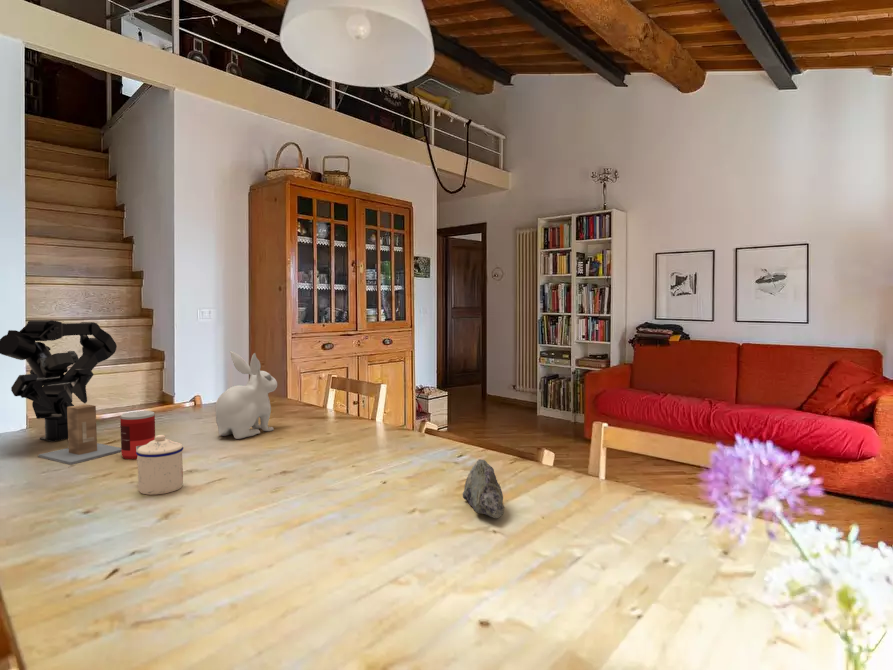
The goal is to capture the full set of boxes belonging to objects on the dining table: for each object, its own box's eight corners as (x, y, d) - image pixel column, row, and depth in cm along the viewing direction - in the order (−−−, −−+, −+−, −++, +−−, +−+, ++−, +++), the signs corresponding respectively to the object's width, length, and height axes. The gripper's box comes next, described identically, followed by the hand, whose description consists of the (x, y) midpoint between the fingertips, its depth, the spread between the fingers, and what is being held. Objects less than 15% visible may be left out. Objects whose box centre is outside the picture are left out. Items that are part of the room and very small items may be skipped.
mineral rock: (497, 528, 103) (498, 474, 103) (443, 518, 107) (444, 467, 107) (516, 504, 115) (517, 456, 115) (467, 496, 119) (467, 450, 119)
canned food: (161, 451, 151) (160, 411, 150) (142, 460, 143) (141, 417, 142) (134, 450, 152) (133, 410, 151) (114, 459, 144) (113, 416, 143)
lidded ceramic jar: (193, 485, 124) (192, 433, 124) (155, 498, 116) (154, 443, 116) (158, 477, 130) (156, 427, 129) (119, 488, 122) (117, 435, 121)
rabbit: (288, 429, 177) (287, 350, 176) (231, 443, 160) (230, 355, 158) (263, 424, 184) (262, 348, 182) (206, 437, 166) (205, 353, 164)
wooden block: (68, 452, 147) (67, 406, 146) (86, 448, 151) (85, 404, 150) (79, 455, 145) (78, 408, 144) (97, 450, 149) (96, 405, 148)
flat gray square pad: (38, 456, 145) (38, 454, 145) (93, 444, 157) (93, 442, 157) (70, 464, 139) (70, 462, 139) (125, 450, 151) (125, 448, 151)
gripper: (16, 343, 143) (45, 390, 139) (88, 339, 160) (115, 381, 157) (-2, 372, 147) (26, 418, 143) (70, 365, 164) (97, 406, 160)
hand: (69, 405), depth 151 cm, fingers open, 9 cm apart
